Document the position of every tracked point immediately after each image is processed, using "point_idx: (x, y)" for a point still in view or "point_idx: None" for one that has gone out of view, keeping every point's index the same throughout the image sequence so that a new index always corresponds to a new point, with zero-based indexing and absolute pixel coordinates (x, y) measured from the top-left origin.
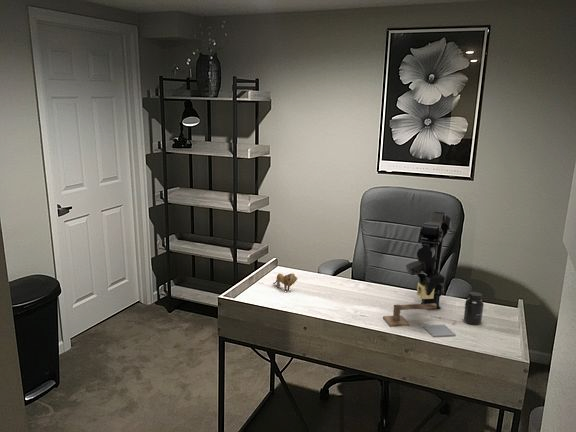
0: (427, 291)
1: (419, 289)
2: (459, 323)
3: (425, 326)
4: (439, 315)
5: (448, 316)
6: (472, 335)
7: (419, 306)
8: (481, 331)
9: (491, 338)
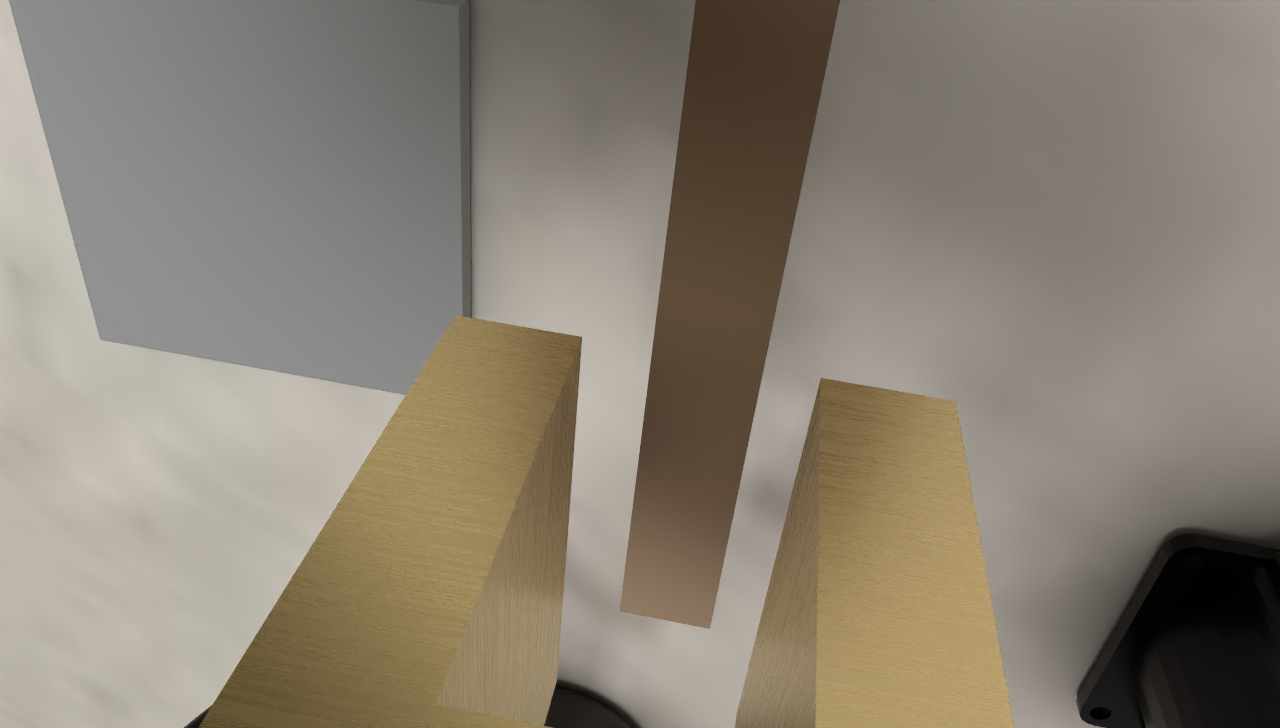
0: (196, 723)
1: (809, 642)
2: None
3: (408, 29)
4: None
5: None
6: (164, 525)
7: (675, 188)
8: None
9: (105, 638)
